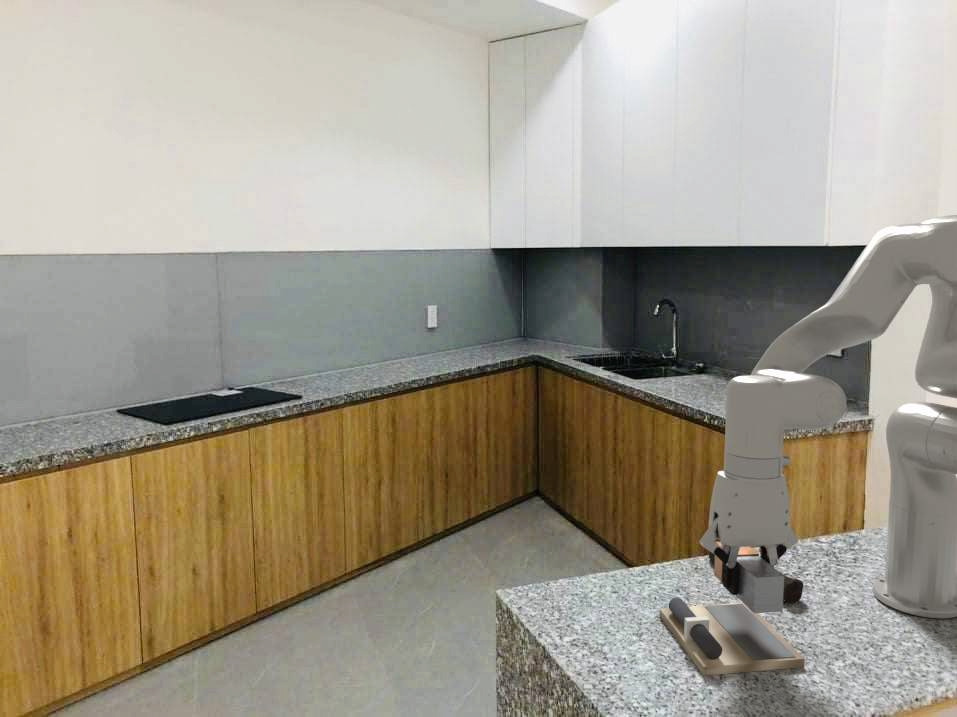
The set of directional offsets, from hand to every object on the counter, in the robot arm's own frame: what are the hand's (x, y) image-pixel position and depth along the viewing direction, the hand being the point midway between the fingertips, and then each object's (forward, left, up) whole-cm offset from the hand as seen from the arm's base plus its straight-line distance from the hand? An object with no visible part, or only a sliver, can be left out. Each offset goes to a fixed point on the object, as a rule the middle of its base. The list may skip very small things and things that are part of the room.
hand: (746, 588), depth 101 cm
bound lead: (+8, 0, -8) cm, 11 cm away
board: (+3, 0, -8) cm, 8 cm away
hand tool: (-9, -18, -8) cm, 22 cm away
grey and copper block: (0, 0, -1) cm, 1 cm away
